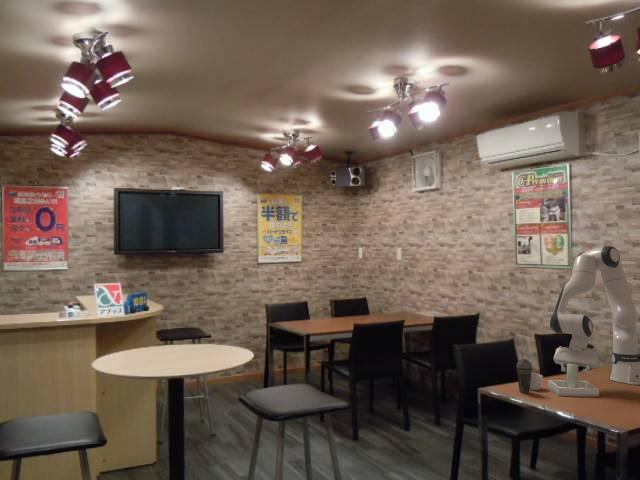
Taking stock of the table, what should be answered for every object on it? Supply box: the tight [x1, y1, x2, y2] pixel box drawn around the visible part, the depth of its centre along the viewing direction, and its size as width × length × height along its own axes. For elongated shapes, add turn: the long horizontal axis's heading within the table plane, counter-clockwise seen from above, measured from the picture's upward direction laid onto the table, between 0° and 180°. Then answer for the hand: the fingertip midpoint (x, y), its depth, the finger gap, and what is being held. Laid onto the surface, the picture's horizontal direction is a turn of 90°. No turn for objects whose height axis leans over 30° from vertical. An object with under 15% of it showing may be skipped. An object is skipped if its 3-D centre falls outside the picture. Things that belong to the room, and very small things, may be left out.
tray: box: [547, 379, 600, 398], centre depth 262 cm, size 18×16×4 cm
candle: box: [530, 372, 544, 391], centre depth 269 cm, size 9×9×6 cm
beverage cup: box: [516, 349, 533, 394], centre depth 262 cm, size 7×7×20 cm
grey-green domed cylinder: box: [566, 363, 579, 388], centre depth 262 cm, size 5×5×12 cm
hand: (573, 372), depth 262 cm, fingers open, 8 cm apart
